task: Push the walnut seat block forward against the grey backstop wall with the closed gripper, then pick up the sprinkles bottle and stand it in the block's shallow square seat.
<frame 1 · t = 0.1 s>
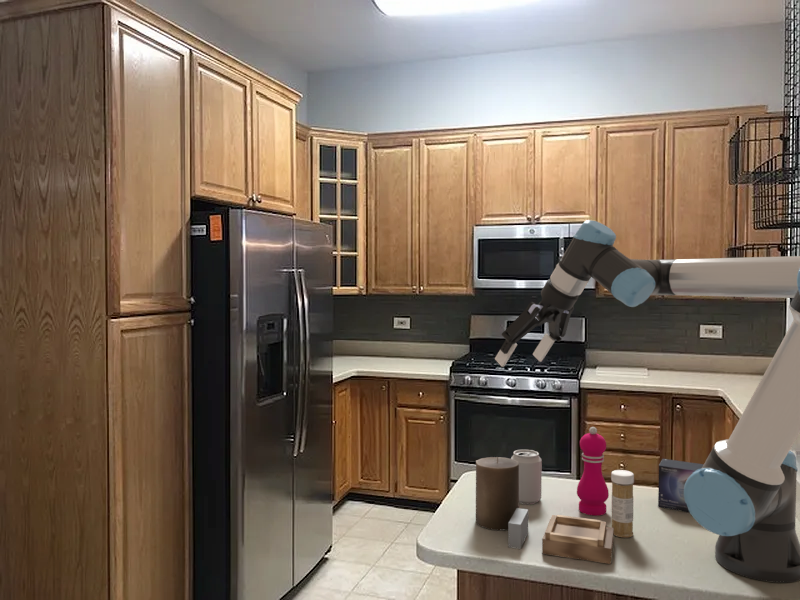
hand: (518, 360, 149), 36 cm above the counter, tool tilted 35°, fingers open, 13 cm apart
small box: (682, 508, 153), on the counter
can: (525, 500, 158), on the counter
pepper mill: (592, 511, 150), on the counter
backstop wall: (518, 539, 134), on the counter
pillar candle: (497, 523, 144), on the counter
sprinkles bottle: (622, 535, 137), on the counter
socket block: (578, 537, 130), point 2 cm above the counter, slide at 0.0 cm
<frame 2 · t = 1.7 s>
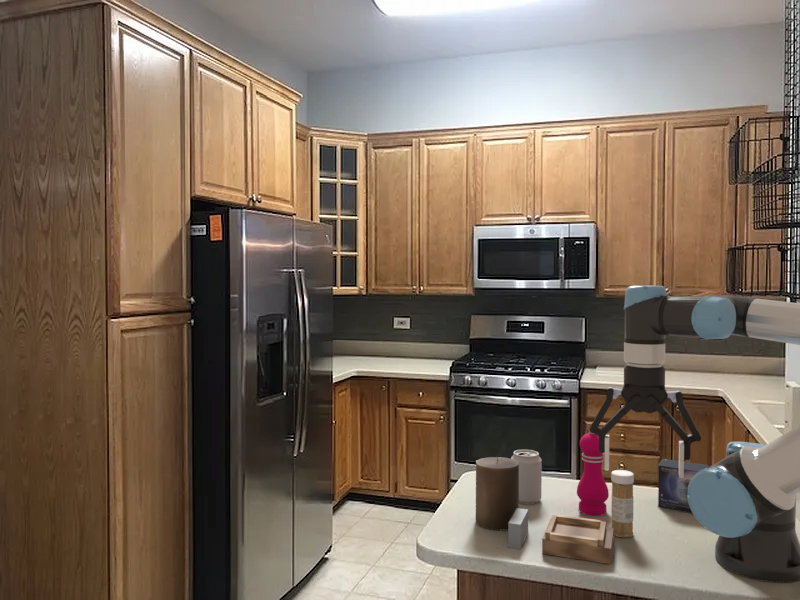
hand: (643, 472, 125), 17 cm above the counter, tool pointing down, fingers open, 13 cm apart
nothing on the counter moved.
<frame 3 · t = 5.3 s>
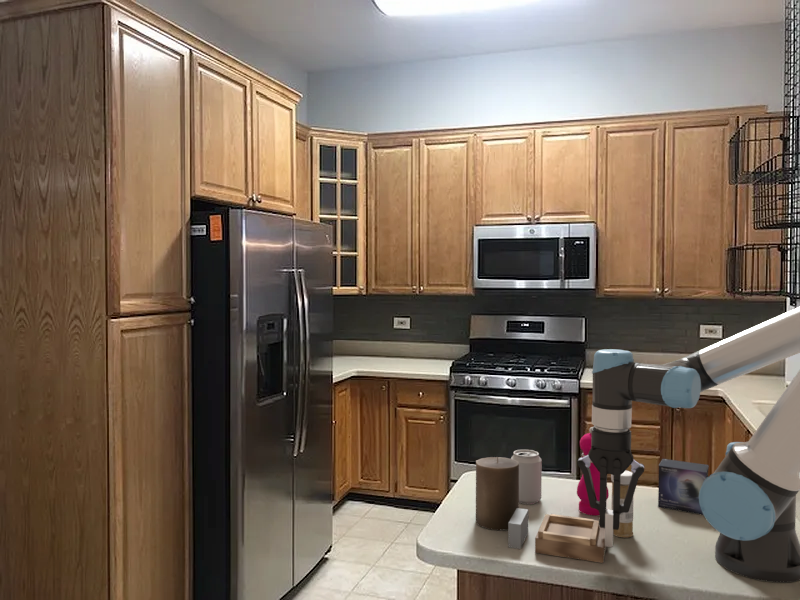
hand: (608, 543, 128), 2 cm above the counter, tool pointing down, fingers closed
socket block: (571, 536, 130), point 2 cm above the counter, slide at 1.4 cm, touching gripper
everything else where it was.
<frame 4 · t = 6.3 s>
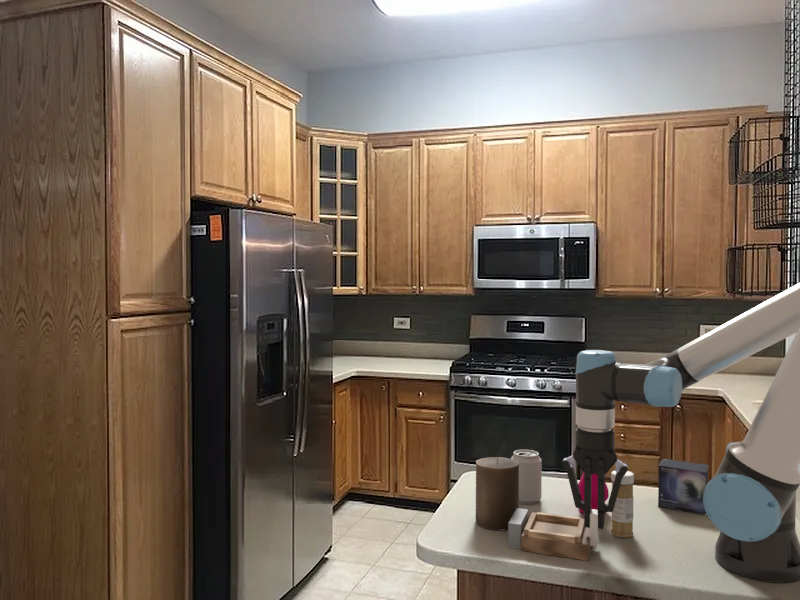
hand: (594, 543, 129), 1 cm above the counter, tool pointing down, fingers closed
socket block: (557, 534, 131), point 2 cm above the counter, slide at 4.2 cm
everything else where it was.
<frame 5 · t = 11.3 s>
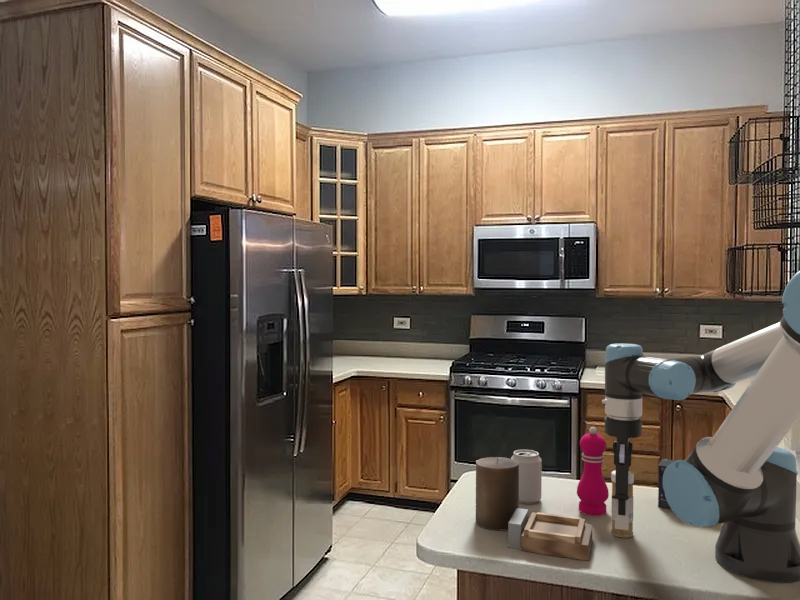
hand: (622, 524, 137), 2 cm above the counter, tool pointing down, fingers closed on sprinkles bottle, 4 cm apart
sprinkles bottle: (622, 535, 137), on the counter, touching gripper
everything else where it was.
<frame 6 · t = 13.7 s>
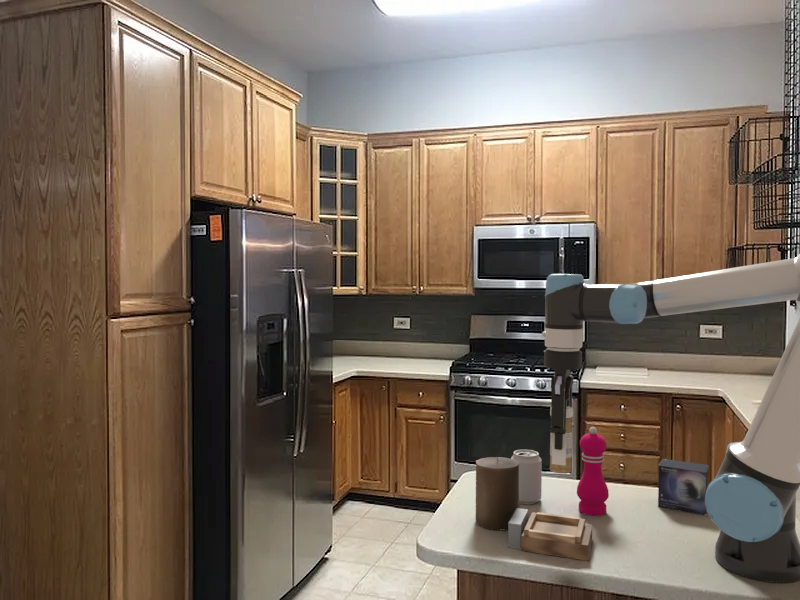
hand: (560, 460, 132), 17 cm above the counter, tool pointing down, fingers closed on sprinkles bottle, 4 cm apart
sprinkles bottle: (560, 472, 132), point 15 cm above the counter, touching gripper
everything else where it was.
when the fingers open (6 cm above the counter, at t = 16.0 s): sprinkles bottle drops 1 cm, resting on socket block.
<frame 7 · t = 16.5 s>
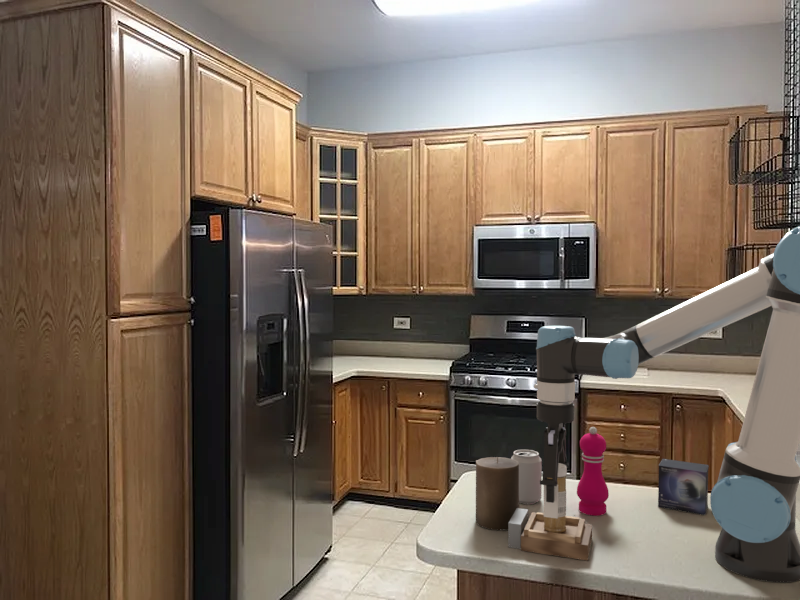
hand: (554, 506, 131), 8 cm above the counter, tool pointing down, fingers open, 11 cm apart
sprinkles bottle: (554, 530, 131), point 3 cm above the counter, touching socket block
socket block: (557, 534, 131), point 2 cm above the counter, slide at 4.3 cm, touching sprinkles bottle
everything else where it was.
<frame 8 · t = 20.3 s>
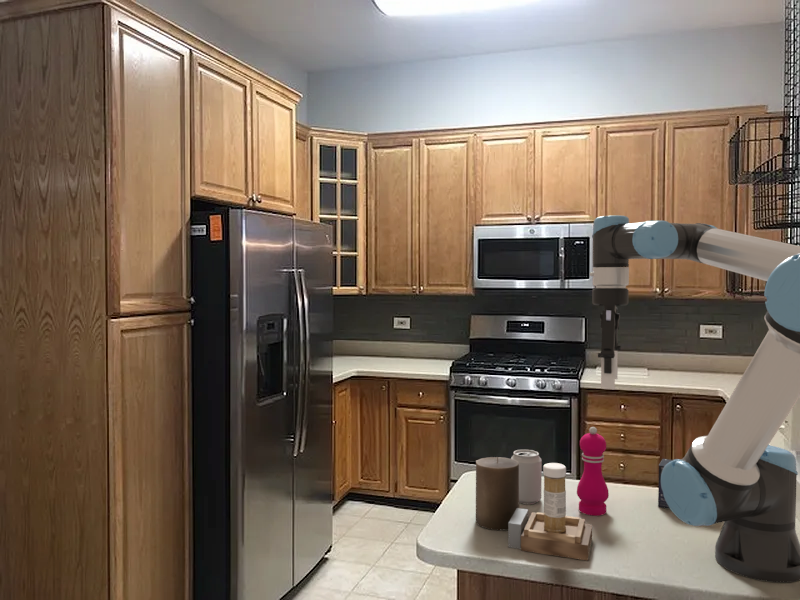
hand: (609, 383, 140), 32 cm above the counter, tool pointing down, fingers open, 13 cm apart
nothing on the counter moved.
at the end: sprinkles bottle 0.0 cm off-centre on the socket block, point 2.9 cm above the socket block's base; sprinkles bottle tilted 0°; socket block slide at 4.3 cm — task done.
